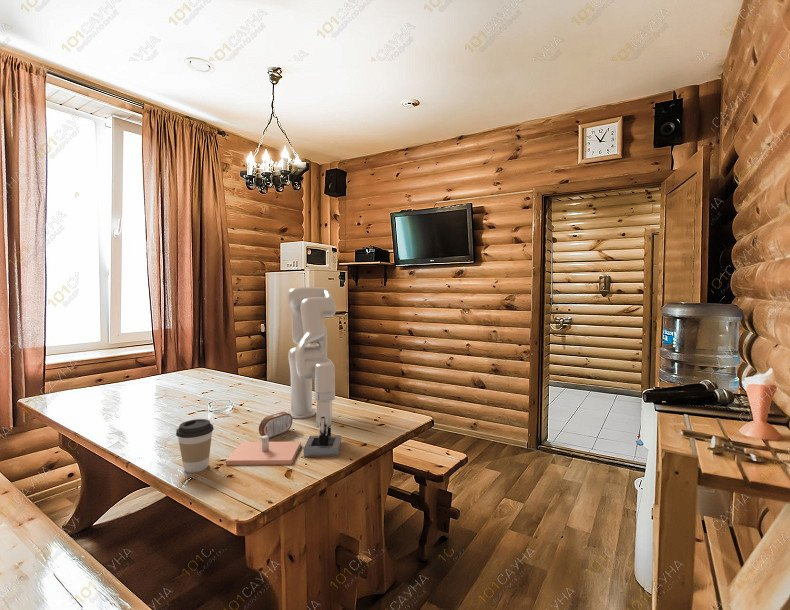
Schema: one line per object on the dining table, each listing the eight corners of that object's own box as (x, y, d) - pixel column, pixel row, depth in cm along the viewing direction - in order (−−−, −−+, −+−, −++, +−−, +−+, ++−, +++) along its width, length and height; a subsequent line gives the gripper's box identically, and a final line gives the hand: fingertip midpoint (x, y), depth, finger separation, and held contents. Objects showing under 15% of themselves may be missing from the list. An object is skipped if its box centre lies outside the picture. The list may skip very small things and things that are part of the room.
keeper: (242, 445, 157) (241, 427, 157) (301, 445, 158) (300, 427, 157) (225, 464, 141) (225, 444, 141) (291, 464, 142) (291, 443, 141)
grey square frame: (310, 443, 160) (309, 435, 159) (341, 443, 160) (341, 435, 160) (303, 456, 148) (303, 448, 147) (337, 456, 148) (337, 448, 148)
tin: (288, 428, 175) (288, 408, 175) (293, 430, 173) (293, 410, 173) (258, 439, 163) (257, 418, 163) (263, 441, 161) (262, 420, 161)
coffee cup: (194, 458, 146) (193, 416, 145) (222, 462, 143) (221, 419, 142) (168, 473, 135) (167, 427, 134) (197, 478, 132) (196, 431, 131)
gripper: (318, 389, 166) (319, 433, 167) (310, 402, 149) (311, 451, 150) (337, 389, 166) (337, 433, 167) (331, 401, 149) (332, 450, 150)
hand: (325, 441), depth 159 cm, fingers open, 6 cm apart
